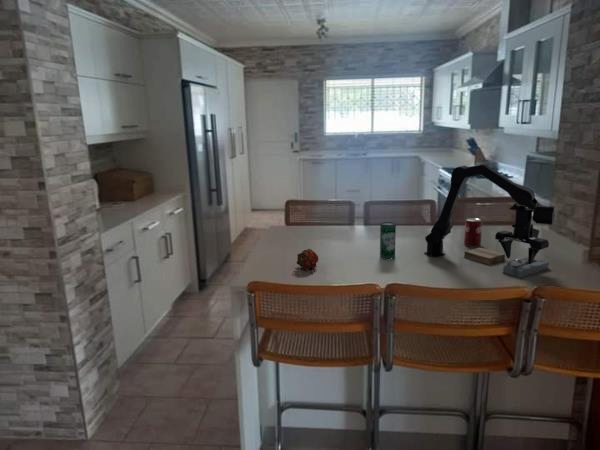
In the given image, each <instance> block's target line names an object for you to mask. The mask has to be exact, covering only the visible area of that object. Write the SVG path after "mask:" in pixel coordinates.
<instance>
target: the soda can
mask: <svg viewBox="0 0 600 450" xmlns="http://www.w3.org/2000/svg"><path fill="white" fill-rule="evenodd" d="M464 221H465V223H464V234H463V235H464V240H463V244H464V245H465V246H467V247H473V248H475V247H476V248H478V247H480V246H481V244H482V231H483V230H482V229H483V220H482V219H481V218H478V217H469V218H466V219H465V220H464Z"/></svg>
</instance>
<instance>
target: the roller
mask: <svg viewBox="0 0 600 450" xmlns="http://www.w3.org/2000/svg"><path fill="white" fill-rule="evenodd" d="M528 264H529V261H528V257H527V256H523V257H519V258H518V257H517V258H516V259H512V260H510V261H507V265H508V266H511V267H515V268H518V267H521V266H524V265H528Z"/></svg>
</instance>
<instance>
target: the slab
mask: <svg viewBox="0 0 600 450" xmlns="http://www.w3.org/2000/svg"><path fill="white" fill-rule="evenodd" d="M463 255H464V256H463V257H464V258H466V259H469V260H473V261H476V262H479V263H482V264H486V265H492V264H495V263H499V262H502V261H505V258H506V254H505V253H503V252H499V251H495V250H492V249H488V248H483V247H476V248H472V249H469V250H464V254H463Z"/></svg>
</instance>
